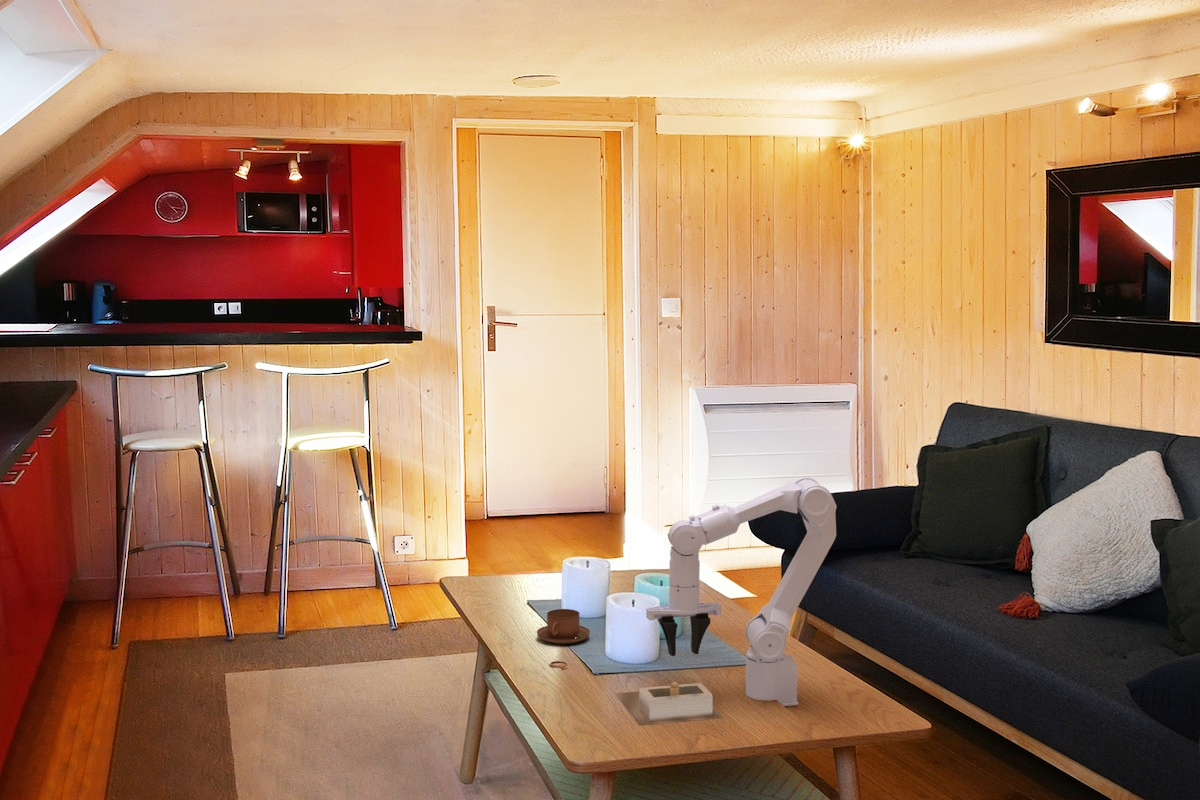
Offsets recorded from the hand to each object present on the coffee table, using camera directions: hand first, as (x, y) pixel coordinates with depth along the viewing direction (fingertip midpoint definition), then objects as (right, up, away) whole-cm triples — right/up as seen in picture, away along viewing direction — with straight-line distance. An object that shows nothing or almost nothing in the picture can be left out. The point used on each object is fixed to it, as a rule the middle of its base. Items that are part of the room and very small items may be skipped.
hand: (683, 653), depth 224 cm
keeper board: (-3, -10, -5) cm, 12 cm away
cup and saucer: (-24, -6, +41) cm, 48 cm away
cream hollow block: (-2, -9, -8) cm, 13 cm away
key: (-21, -9, +18) cm, 29 cm away
